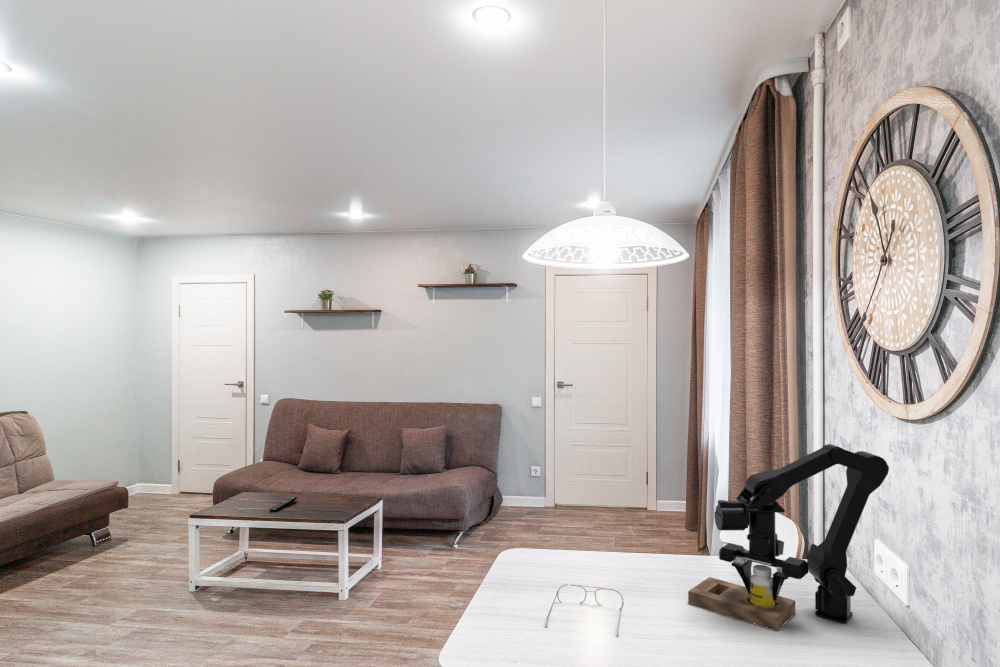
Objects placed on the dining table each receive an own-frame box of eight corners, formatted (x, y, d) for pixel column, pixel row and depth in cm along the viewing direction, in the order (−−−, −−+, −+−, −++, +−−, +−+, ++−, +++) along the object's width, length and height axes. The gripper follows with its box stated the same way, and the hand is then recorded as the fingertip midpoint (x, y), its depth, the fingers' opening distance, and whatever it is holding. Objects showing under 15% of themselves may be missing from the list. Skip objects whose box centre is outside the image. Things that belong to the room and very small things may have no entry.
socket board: (795, 613, 146) (795, 600, 146) (777, 631, 137) (777, 617, 137) (709, 588, 160) (709, 576, 160) (688, 603, 152) (688, 591, 152)
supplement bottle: (745, 606, 147) (744, 564, 147) (764, 603, 149) (763, 562, 149) (761, 616, 142) (760, 573, 142) (780, 612, 144) (780, 570, 144)
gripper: (815, 530, 145) (816, 597, 145) (736, 514, 158) (736, 576, 158) (800, 542, 137) (800, 613, 137) (717, 524, 150) (718, 589, 150)
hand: (762, 596), depth 145 cm, fingers closed on supplement bottle, 5 cm apart
